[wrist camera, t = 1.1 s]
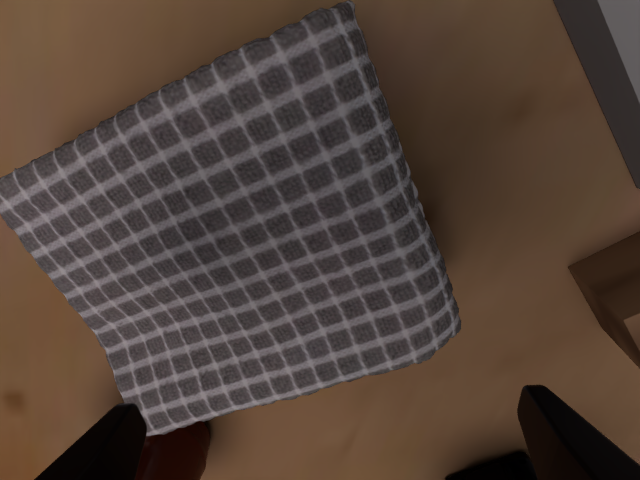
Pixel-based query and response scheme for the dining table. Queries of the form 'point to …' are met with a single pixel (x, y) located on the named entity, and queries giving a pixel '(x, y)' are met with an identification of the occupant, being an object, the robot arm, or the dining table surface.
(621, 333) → the walnut cube
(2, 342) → the dining table surface
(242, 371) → the towel
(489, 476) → the robot arm
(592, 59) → the pedestal
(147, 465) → the mug
